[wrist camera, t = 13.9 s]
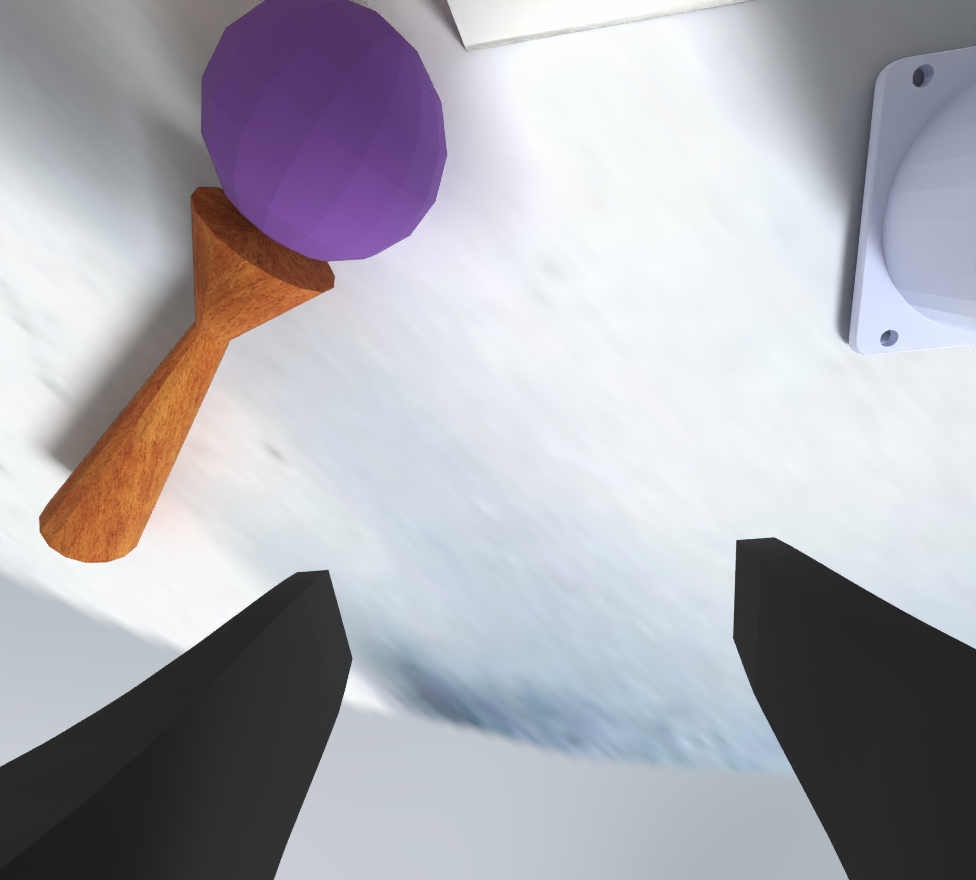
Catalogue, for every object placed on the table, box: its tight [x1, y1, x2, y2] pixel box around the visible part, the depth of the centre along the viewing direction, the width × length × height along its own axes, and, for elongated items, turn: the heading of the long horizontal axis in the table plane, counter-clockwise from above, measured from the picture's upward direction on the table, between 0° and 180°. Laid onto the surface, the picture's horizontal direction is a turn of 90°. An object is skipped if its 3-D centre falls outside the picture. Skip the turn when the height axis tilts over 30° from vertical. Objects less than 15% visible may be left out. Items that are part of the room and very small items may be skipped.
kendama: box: [39, 0, 447, 563], centre depth 17 cm, size 6×6×20 cm
